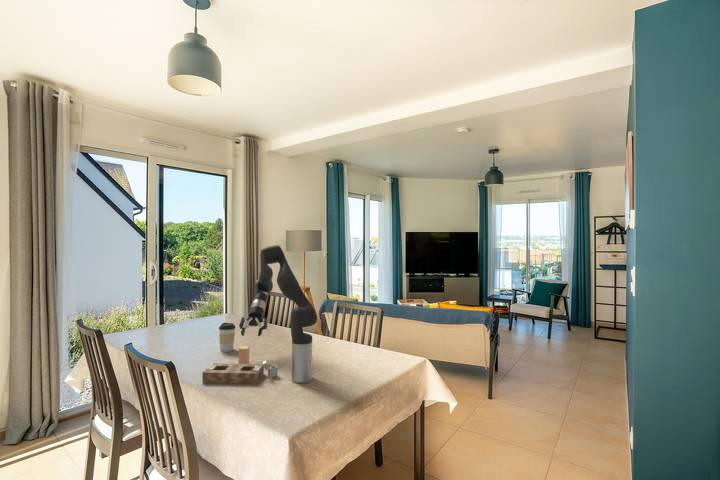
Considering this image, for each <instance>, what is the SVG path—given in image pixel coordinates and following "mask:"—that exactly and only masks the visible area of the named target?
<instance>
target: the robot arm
mask: <svg viewBox="0 0 720 480" xmlns="http://www.w3.org/2000/svg"><path fill="white" fill-rule="evenodd" d="M259 256H260V257H259V261H260V262H259V263H260V265H259V266H260V273H259V276H258V279H256V280H255V281H254V284H253V285H254V287H253V288H254V296H253V301H252V303H251V306H250V309H249V312H248V317H244V316H243V317H241V319H240V322H239V325H238V327H239V329H240V330H241V331H240V334H241V336H242V337H244V336H245V333H246V329H249V327H258V328H259V329H258V332H257V337H261V336H262V334H263V331H264V330H267V328H268V322H269V321H268V317H264V314H265V311H266V304H267V299H268V295H267V294H269V293H271V292H272V291H273V288H274V284H273V274H274V272H273V269H272V268H271V267H270V266H269V265H273V264H277V263H278V264H279V271H278V272H277V273H278V274H277V277H276V284H277V286H278V288H279V290H280V292H281V294H282V295H284V296H285V297H286V298H288V300H290V301H292V302H293V303H294V304H296V305H297V307H294V308H292V309H291V312H290V334H291V369H290V371H291V373H290V374H291V375H290V377H291V378H290V379H291V381H292V382H293V383H296V384H297V383H298V384H305V383H310V382H312V379H313V369H314V368H313V366H314V365H313V364H314V361H313V360H314V359H313V336H312V335H311V334H310V333H308V332H307V333H306V332H305V331H304V328H307V327H311V326H312V327H313V326H315V325H316V323H317V321H318V316H317V312H316V310H315V308H314V306H313V304H312V303H311V302H310V300H309V299H308V297H307V296H306V294H305V293H304V291H303V289H302V287H301V286H300V284H299V282H298V280H297V277H296V276H295V274H294V272H293V270H292V269H291V267H290V265H289V262H288V261H287V258H286V255H285V253H284V251H283V249H282V247H281V245H278V244H277V245H276V244H275V245H270V246H265V247H263V248H261V250H260V255H259ZM262 323H263V325H262Z"/></svg>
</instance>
